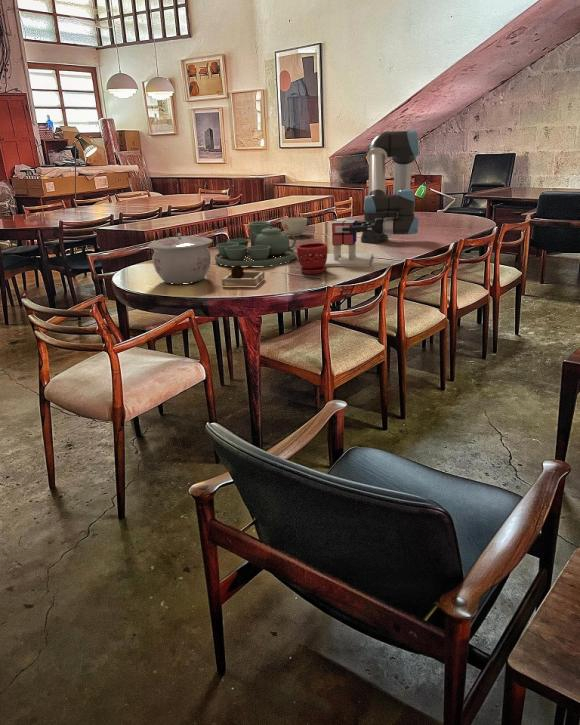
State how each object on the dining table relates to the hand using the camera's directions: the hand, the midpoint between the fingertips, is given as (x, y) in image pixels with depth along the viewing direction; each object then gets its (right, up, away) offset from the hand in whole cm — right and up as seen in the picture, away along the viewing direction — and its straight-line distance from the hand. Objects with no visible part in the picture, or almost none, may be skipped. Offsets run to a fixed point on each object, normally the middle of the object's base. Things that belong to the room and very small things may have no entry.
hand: (337, 227), depth 269 cm
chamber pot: (-67, -28, -18) cm, 75 cm away
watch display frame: (-41, -30, -28) cm, 58 cm away
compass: (-41, -29, -25) cm, 56 cm away
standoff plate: (+4, -15, +5) cm, 16 cm away
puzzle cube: (+4, -7, +2) cm, 8 cm away
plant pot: (-12, -23, -13) cm, 29 cm away
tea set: (-39, -12, +19) cm, 45 cm away
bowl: (-19, +14, +83) cm, 86 cm away
